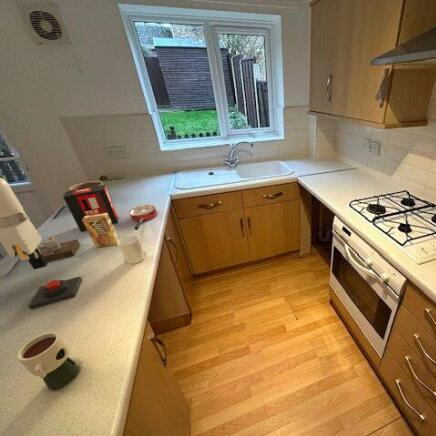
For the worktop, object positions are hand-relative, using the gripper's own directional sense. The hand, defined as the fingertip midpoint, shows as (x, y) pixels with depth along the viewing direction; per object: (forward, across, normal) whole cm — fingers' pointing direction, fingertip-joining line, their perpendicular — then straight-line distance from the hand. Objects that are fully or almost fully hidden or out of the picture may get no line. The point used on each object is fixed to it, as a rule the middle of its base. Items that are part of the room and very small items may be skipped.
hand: (41, 266), depth 81 cm
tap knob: (+9, -31, -8) cm, 33 cm away
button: (+9, 0, 0) cm, 9 cm away
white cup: (+13, -10, +24) cm, 29 cm away
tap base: (+12, -31, -8) cm, 34 cm away
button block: (+12, 0, 0) cm, 13 cm away
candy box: (+13, -30, +11) cm, 34 cm away
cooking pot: (+12, -94, -6) cm, 95 cm away
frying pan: (+13, -45, +26) cm, 53 cm away
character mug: (+13, +38, +11) cm, 41 cm away
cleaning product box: (+12, -56, +4) cm, 58 cm away
